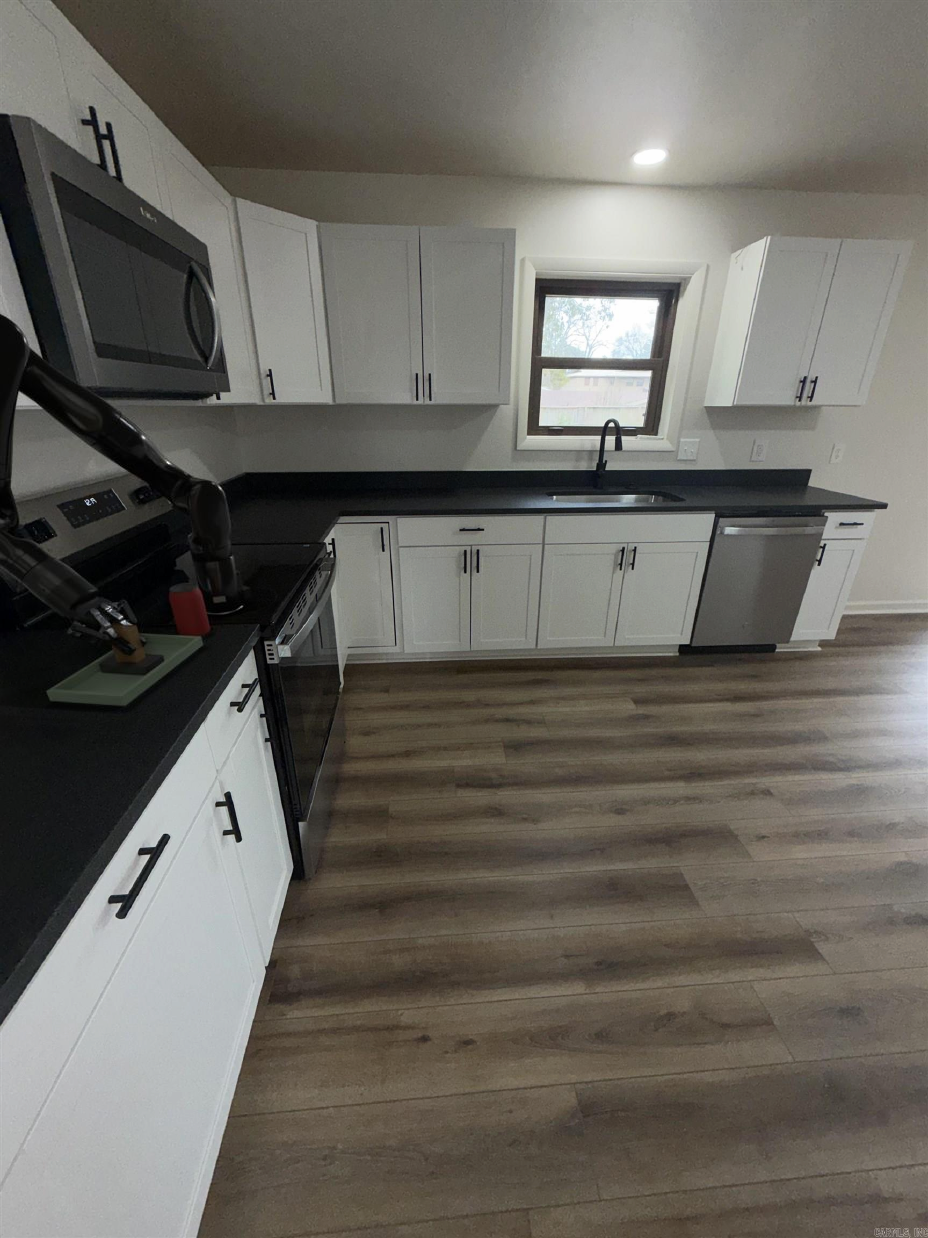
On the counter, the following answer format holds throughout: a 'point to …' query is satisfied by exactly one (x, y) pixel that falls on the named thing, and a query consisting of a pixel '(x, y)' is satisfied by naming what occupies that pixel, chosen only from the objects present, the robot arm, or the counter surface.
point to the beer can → (189, 610)
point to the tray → (124, 687)
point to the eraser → (130, 664)
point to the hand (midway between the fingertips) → (138, 648)
